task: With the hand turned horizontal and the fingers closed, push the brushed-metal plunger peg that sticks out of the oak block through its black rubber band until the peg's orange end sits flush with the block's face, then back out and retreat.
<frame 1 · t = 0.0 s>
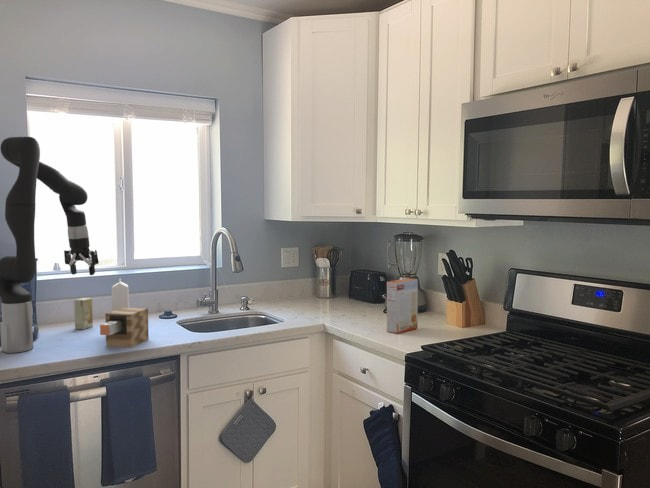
hand: (83, 274, 225), 22 cm above the worktop, tool pointing down, fingers open, 8 cm apart
peg: (114, 326, 194), point 8 cm above the worktop, slide at 8.0 cm
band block: (127, 342, 202), on the worktop
skincare box: (84, 328, 226), on the worktop
cracker box: (402, 330, 223), on the worktop
milk: (121, 333, 218), on the worktop
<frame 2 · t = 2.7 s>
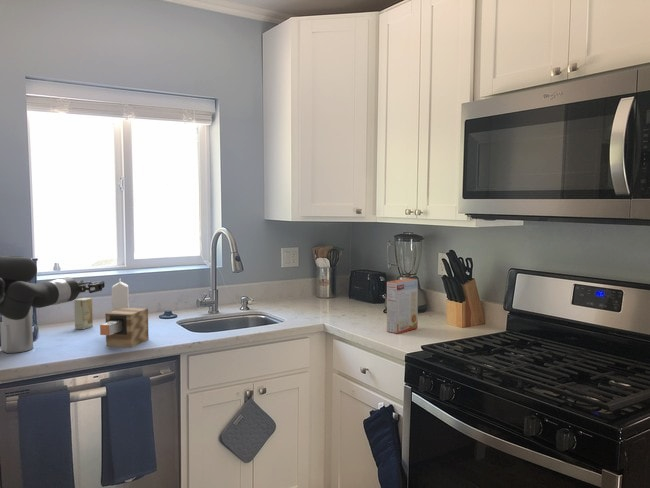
hand: (92, 283, 181), 25 cm above the worktop, tool horizontal, fingers open, 7 cm apart
nothing on the worktop moved.
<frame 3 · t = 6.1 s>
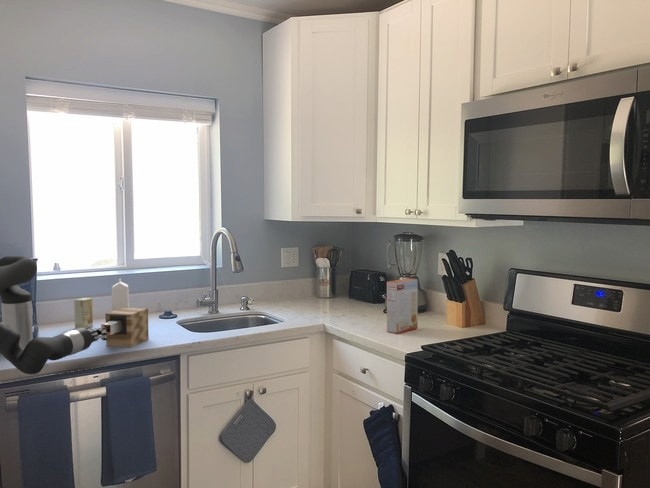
hand: (105, 329, 188), 8 cm above the worktop, tool horizontal, fingers closed
peg: (115, 325, 194), point 8 cm above the worktop, slide at 7.3 cm, touching gripper
everything else where it was.
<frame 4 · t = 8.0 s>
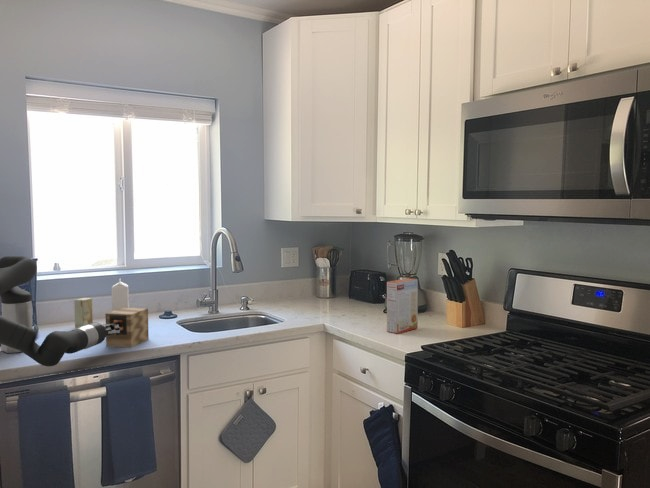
hand: (118, 324, 196), 8 cm above the worktop, tool horizontal, fingers closed
peg: (127, 321, 202), point 8 cm above the worktop, slide at -0.1 cm, touching gripper
everything else where it was.
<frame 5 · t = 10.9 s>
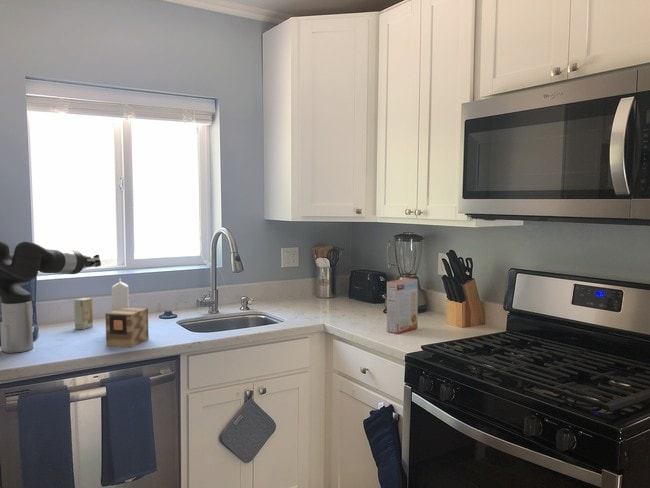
hand: (98, 263, 185), 31 cm above the worktop, tool horizontal, fingers closed
peg: (127, 321, 202), point 8 cm above the worktop, slide at 0.0 cm
everything else where it was.
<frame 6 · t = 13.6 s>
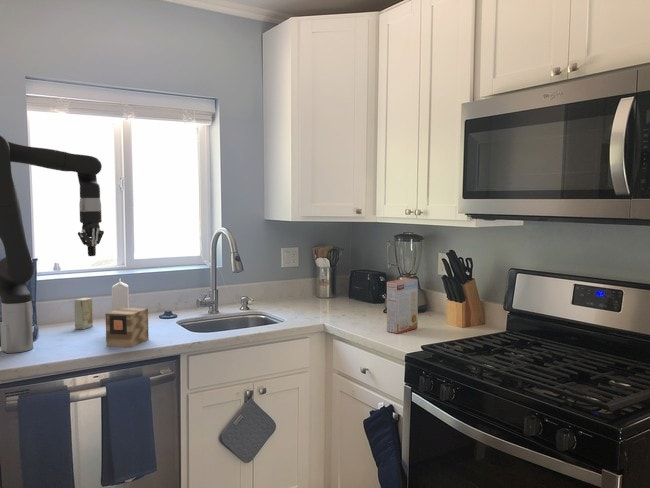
hand: (91, 256, 205), 32 cm above the worktop, tool pointing down, fingers closed
nothing on the worktop moved.
at the end: peg slide at 0.0 cm; peg touching nothing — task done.
